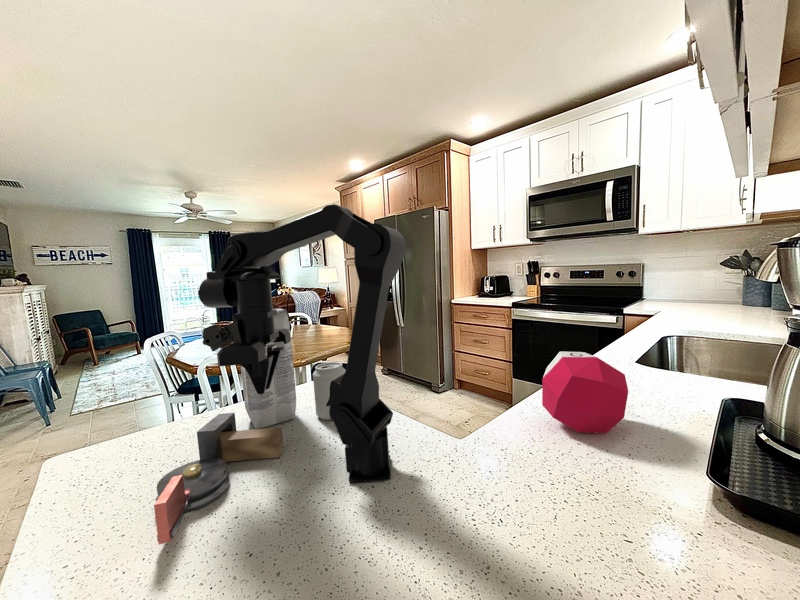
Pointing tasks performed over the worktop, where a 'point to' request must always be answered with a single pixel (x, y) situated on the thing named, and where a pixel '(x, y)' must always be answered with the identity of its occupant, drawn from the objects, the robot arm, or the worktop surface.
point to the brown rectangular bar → (251, 444)
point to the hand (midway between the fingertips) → (263, 391)
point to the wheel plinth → (208, 497)
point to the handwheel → (185, 493)
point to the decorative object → (584, 392)
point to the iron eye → (214, 435)
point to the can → (325, 386)
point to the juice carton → (273, 386)
